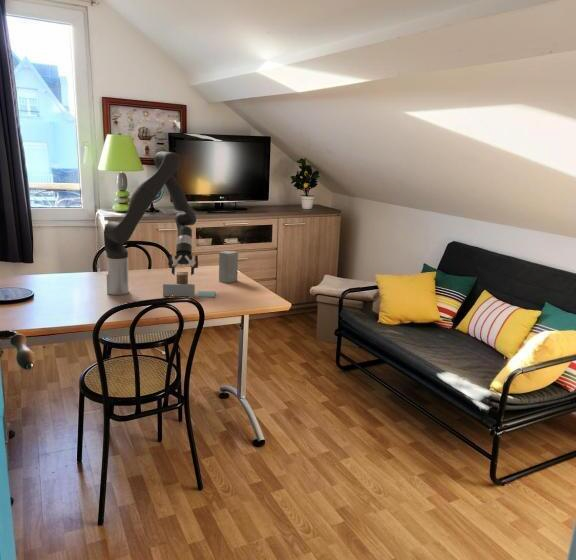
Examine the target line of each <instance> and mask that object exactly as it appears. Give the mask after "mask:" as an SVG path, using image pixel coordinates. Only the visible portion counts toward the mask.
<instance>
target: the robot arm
mask: <svg viewBox="0 0 576 560" xmlns="http://www.w3.org/2000/svg"><path fill="white" fill-rule="evenodd" d="M153 159H154V160H153V161H154V165H155V167H156V171H155V173H153V174H152V175H151V176H150V177H148V178H147V179H145V180H143V182H140V184H139V185H138V186H137V187H136V189H135V190H134V191H133V193H132V195H131V197H130V199H129V203H128V209H127V211H126V214H125V215H124V217H123V218H122V220H120V222H118V221H109V222H108V223H107V224H106V225H105V226H104V230H103V239H104V240H103V243H104V250H105V253H106V262H107V264H106V265H107V267H106V268H107V271H106V272H107V273H106V294H109V295H112V296H121V295H126V294H128V293H129V291H130V290H129V288H130V287H129V251H128V249H126V248H125V246H124V244H125V243H127V242H128V241H129V239H130V238H131V237H132V235H133V233H135V230H136V227H138V224H139V222H140V221H141V219H142V218H143V216H144V215H145V213H146V212H147V210H148V209H149V208H150V206H151V205H152V203H153V202H154V200H155V199H156V197H157V196H158V194H159V193H160V192H161V191H162V189H163V187H164V186H166V188H167V192H168V193H169V197H170V199H171V202H172V205H173V208H174V209H175V210H176V211H180V212H179V213H176V214H175V216H174V221H175V224H176V228H177V239H176V249H175V250H176V251H175V255H173V254H169V256H168V261H167V264H168V265H167V267H168V268H171V274H172V275H173V276H175V274H176V272H175V271H176V267H177V266H179V265H185V266H186V265H188V266H189V267H190V275H191V276H193V275H194V274H195V269H198V268H199V259H198V258H199V257H198V255H197V254H196V255H194V256H193V255H192V249H193V241H192V238H193V230H192V228H191V227H190V226H193V225H195V224H196V222H197V216H196V214H195V212H194V211H193V209H192V208H191V207H190V205H189V202H188V200H187V196H186V194H185V192H184V189H183V188H182V186H181V185H180V183H178V180H177V179H176V177H175V175H174V174H175V173H176V171H177V170H178V169H179V167H180V164H181V159H180V156H179V155H178V153H175V152H171V151H163V150H161V151H158V152H156V154H155V155H154V158H153ZM174 259H175V260H174ZM173 260H174V262H173V263H172V261H173ZM192 260H193V261H194V262H195V264H194V263H193V262H192Z"/></svg>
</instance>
